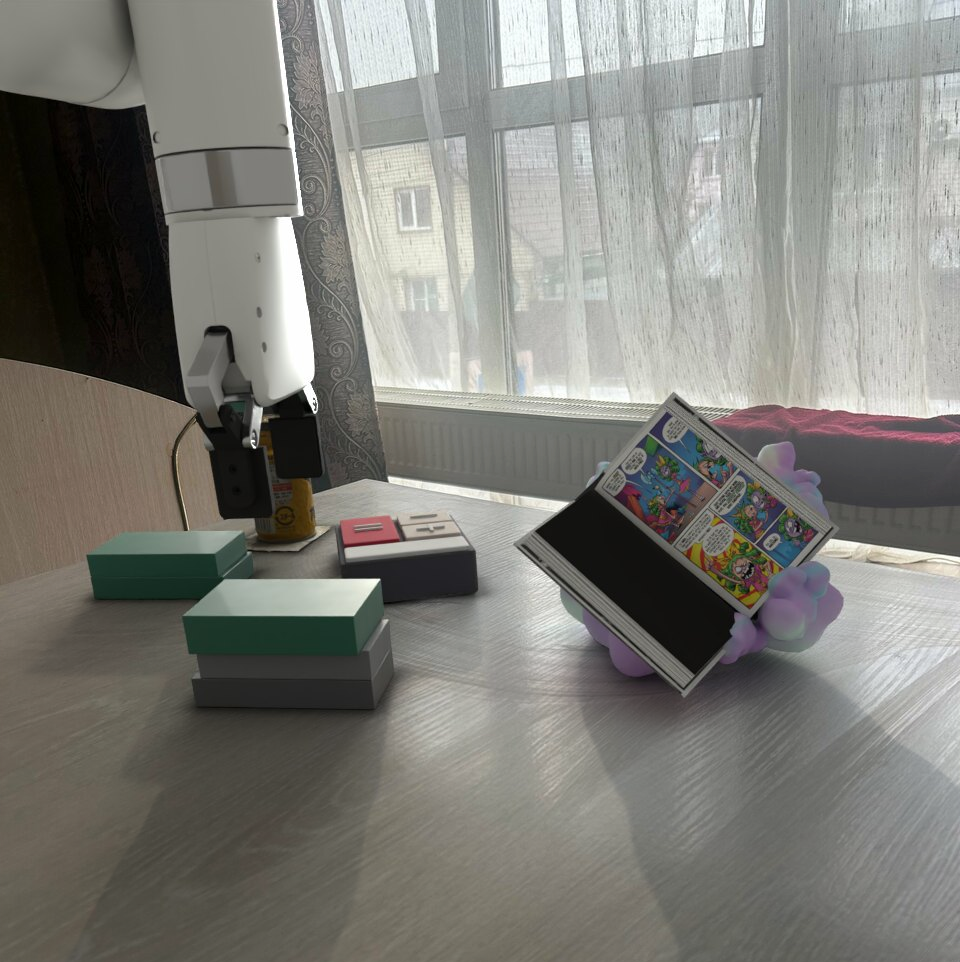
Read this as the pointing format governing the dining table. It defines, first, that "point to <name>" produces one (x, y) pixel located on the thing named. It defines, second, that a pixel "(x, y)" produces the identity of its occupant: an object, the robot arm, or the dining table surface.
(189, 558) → the green books
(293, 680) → the grey books
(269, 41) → the robot arm
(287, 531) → the condiment
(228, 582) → the slim green book
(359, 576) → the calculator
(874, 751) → the dining table surface
